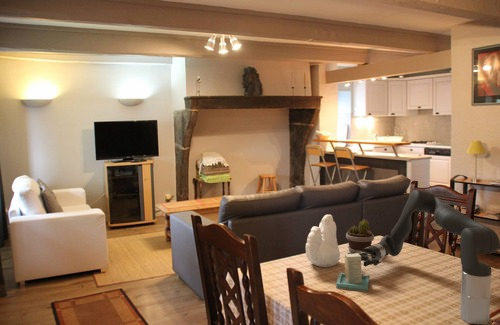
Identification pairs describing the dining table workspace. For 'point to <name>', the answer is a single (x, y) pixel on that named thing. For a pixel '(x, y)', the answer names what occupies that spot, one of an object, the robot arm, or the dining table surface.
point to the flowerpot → (359, 237)
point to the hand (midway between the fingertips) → (355, 261)
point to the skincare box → (353, 268)
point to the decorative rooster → (323, 243)
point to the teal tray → (359, 286)
